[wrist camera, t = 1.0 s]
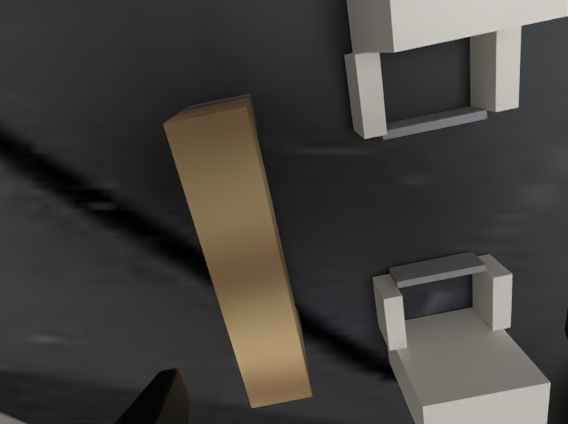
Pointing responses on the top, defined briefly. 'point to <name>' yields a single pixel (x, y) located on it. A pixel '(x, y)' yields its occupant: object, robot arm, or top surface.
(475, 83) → the stepped white cradle
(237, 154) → the rail
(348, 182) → the top surface
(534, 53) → the top surface
